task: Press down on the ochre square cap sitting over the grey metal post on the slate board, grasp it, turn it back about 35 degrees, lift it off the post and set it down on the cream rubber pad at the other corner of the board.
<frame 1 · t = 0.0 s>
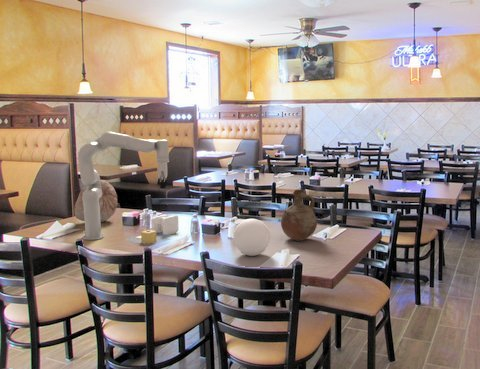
hand: (163, 187, 319), 31 cm above the table, tool pointing down, fingers open, 9 cm apart
jug: (298, 239, 310), on the table
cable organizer: (165, 234, 329), on the table
board: (147, 241, 311), on the table
sphere: (252, 255, 278), on the table
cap: (149, 241, 305), point 1 cm above the table, touching board
fossil: (96, 223, 365), on the table
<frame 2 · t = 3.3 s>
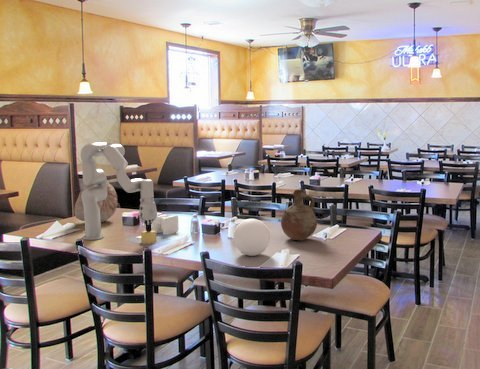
hand: (148, 230, 304), 8 cm above the table, tool pointing down, fingers closed
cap: (149, 241, 305), point 1 cm above the table, touching board, gripper
everything else where it was.
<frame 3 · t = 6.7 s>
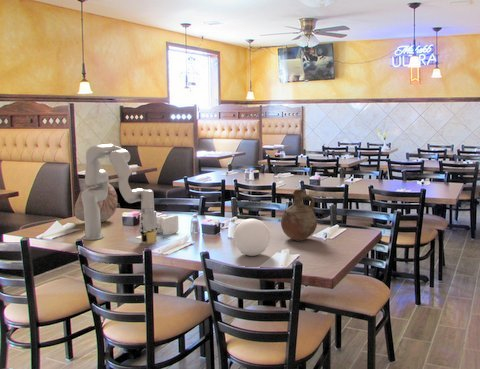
hand: (148, 239, 305), 2 cm above the table, tool pointing down, fingers closed on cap, 6 cm apart
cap: (149, 241, 305), point 1 cm above the table, touching board, gripper
everything else where it was.
when the fingers open (4 cm above the table, at t = 13.4 s): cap drops 1 cm, resting on board.
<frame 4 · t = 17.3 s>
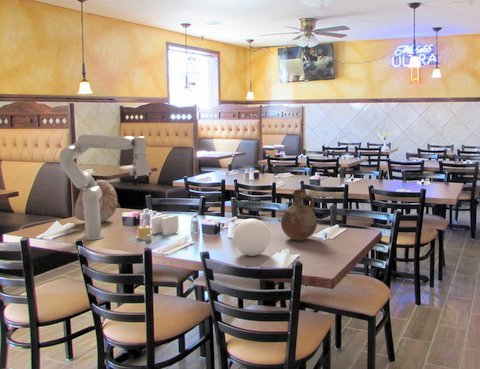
hand: (141, 184, 318), 33 cm above the table, tool pointing down, fingers open, 9 cm apart
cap: (144, 236, 316), point 1 cm above the table, touching board
everything else where it was.
at the end: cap inside the target area on the board (0.3 cm from its centre), point 1.5 cm above the board's base; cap tilted 0°; the gripper is holding nothing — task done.
